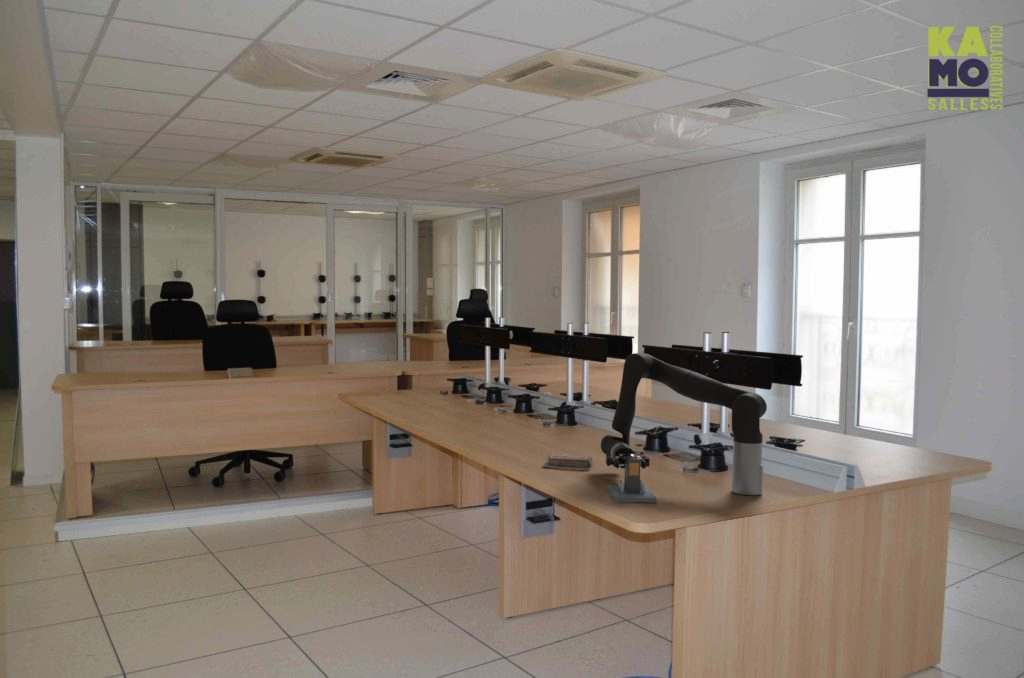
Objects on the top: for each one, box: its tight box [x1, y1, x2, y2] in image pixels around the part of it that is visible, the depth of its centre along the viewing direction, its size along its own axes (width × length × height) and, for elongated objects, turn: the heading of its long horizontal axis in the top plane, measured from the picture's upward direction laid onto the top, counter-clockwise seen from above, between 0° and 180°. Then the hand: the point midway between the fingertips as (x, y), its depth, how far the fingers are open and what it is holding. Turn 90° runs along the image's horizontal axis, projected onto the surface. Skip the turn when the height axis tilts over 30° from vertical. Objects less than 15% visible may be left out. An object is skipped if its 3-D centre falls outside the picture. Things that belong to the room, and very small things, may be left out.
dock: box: [607, 479, 657, 504], centre depth 245 cm, size 13×16×4 cm
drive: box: [623, 455, 641, 494], centre depth 245 cm, size 4×6×11 cm, turn 1°
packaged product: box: [542, 452, 594, 472], centre depth 287 cm, size 18×5×10 cm
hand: (631, 465), depth 247 cm, fingers open, 8 cm apart
